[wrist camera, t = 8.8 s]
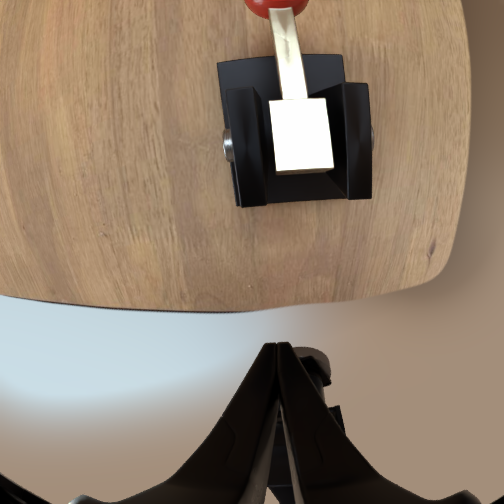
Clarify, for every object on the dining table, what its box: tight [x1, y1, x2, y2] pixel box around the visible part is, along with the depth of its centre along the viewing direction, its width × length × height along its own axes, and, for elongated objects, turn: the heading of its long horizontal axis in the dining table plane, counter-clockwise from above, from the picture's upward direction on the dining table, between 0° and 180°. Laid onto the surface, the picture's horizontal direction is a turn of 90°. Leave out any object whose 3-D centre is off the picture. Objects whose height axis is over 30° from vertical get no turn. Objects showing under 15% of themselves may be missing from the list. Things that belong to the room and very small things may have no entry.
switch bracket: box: [217, 54, 374, 208], centre depth 14 cm, size 10×8×10 cm
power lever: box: [244, 0, 335, 175], centre depth 10 cm, size 11×3×3 cm, turn 7°
